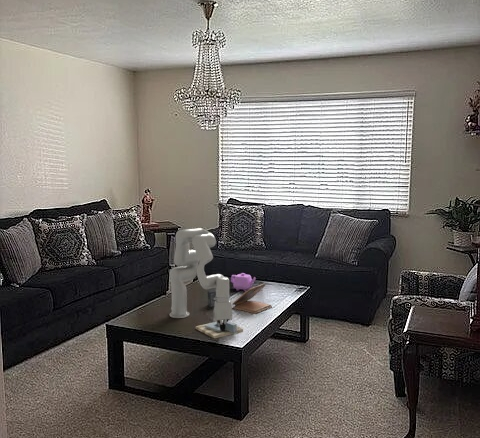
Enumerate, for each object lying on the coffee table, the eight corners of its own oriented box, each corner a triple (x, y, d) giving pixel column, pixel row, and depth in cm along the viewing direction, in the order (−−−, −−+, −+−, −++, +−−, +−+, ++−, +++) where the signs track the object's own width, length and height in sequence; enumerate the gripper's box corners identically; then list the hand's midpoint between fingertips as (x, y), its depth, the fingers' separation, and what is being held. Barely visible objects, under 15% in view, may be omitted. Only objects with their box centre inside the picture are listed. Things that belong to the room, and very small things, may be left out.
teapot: (228, 290, 389) (227, 273, 388) (234, 286, 401) (234, 270, 399) (252, 292, 382) (252, 276, 380) (258, 288, 393) (258, 272, 392)
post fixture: (195, 328, 303) (195, 317, 302) (223, 322, 314) (223, 311, 313) (214, 338, 287) (214, 326, 286) (243, 331, 298) (243, 319, 297)
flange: (204, 327, 300) (204, 319, 299) (219, 322, 309) (219, 315, 308) (227, 335, 287) (227, 327, 286) (242, 329, 296) (242, 322, 295)
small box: (222, 303, 354) (222, 288, 353) (225, 306, 348) (225, 291, 347) (207, 305, 351) (207, 290, 349) (210, 307, 345) (210, 292, 343)
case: (249, 301, 359) (249, 279, 357) (273, 307, 346) (273, 284, 344) (230, 308, 344) (230, 285, 342) (255, 314, 331) (255, 290, 329)
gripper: (211, 302, 282) (211, 334, 285) (237, 299, 287) (237, 331, 290) (208, 298, 290) (208, 329, 292) (233, 296, 294) (233, 327, 297)
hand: (222, 330), depth 291 cm, fingers closed
